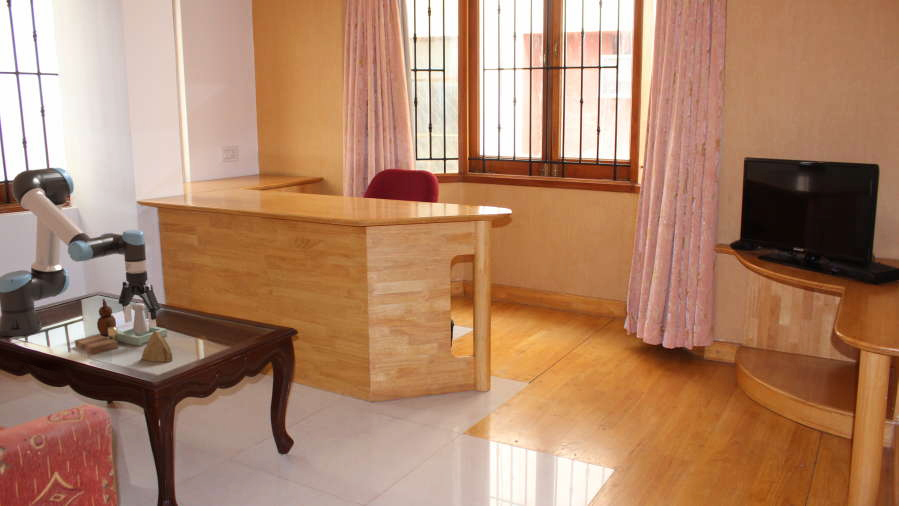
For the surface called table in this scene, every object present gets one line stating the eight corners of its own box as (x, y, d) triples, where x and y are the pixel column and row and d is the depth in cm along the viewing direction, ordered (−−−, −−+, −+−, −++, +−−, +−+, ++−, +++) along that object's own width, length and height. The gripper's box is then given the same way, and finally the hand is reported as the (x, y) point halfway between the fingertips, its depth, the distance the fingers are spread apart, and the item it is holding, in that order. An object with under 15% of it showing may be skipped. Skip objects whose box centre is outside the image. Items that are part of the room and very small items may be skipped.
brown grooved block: (75, 347, 284) (75, 340, 284) (99, 342, 291) (98, 334, 290) (94, 355, 276) (93, 348, 275) (117, 349, 282) (117, 341, 282)
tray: (116, 340, 291) (115, 333, 291) (144, 331, 302) (143, 324, 302) (139, 345, 285) (138, 338, 285) (167, 336, 296) (166, 329, 296)
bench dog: (107, 343, 288) (105, 328, 287) (114, 341, 290) (112, 326, 289) (112, 344, 286) (111, 329, 285) (119, 342, 289) (117, 327, 288)
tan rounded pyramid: (181, 353, 270) (170, 343, 277) (166, 339, 265) (155, 328, 272) (157, 375, 267) (146, 364, 274) (141, 361, 261) (131, 350, 268)
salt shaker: (144, 333, 298) (141, 301, 295) (152, 335, 294) (149, 303, 292) (130, 336, 293) (127, 304, 291) (138, 339, 290) (135, 306, 287)
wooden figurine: (108, 337, 295) (105, 300, 292) (95, 336, 296) (92, 299, 293) (119, 332, 301) (116, 295, 298) (106, 331, 303) (103, 294, 300)
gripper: (105, 269, 291) (110, 322, 295) (151, 277, 279) (155, 332, 284) (122, 265, 297) (126, 317, 302) (167, 273, 286) (171, 327, 290)
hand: (140, 324), depth 293 cm, fingers open, 13 cm apart
